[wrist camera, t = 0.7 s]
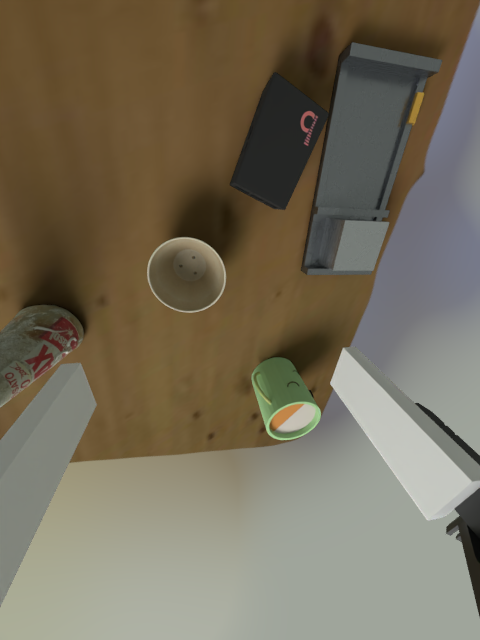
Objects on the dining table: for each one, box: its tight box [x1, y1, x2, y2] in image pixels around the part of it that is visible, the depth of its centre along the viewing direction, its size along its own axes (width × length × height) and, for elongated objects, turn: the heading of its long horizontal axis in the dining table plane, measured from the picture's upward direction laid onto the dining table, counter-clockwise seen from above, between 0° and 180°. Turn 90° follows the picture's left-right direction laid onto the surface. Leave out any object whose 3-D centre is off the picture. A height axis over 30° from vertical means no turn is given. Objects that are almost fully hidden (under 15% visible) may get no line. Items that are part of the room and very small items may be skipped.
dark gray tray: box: [301, 42, 442, 275], centre depth 31 cm, size 26×12×6 cm, turn 177°
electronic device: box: [230, 72, 329, 210], centre depth 28 cm, size 7×11×5 cm
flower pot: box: [147, 237, 226, 312], centre depth 31 cm, size 10×10×7 cm
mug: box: [252, 357, 321, 440], centre depth 43 cm, size 13×10×12 cm
